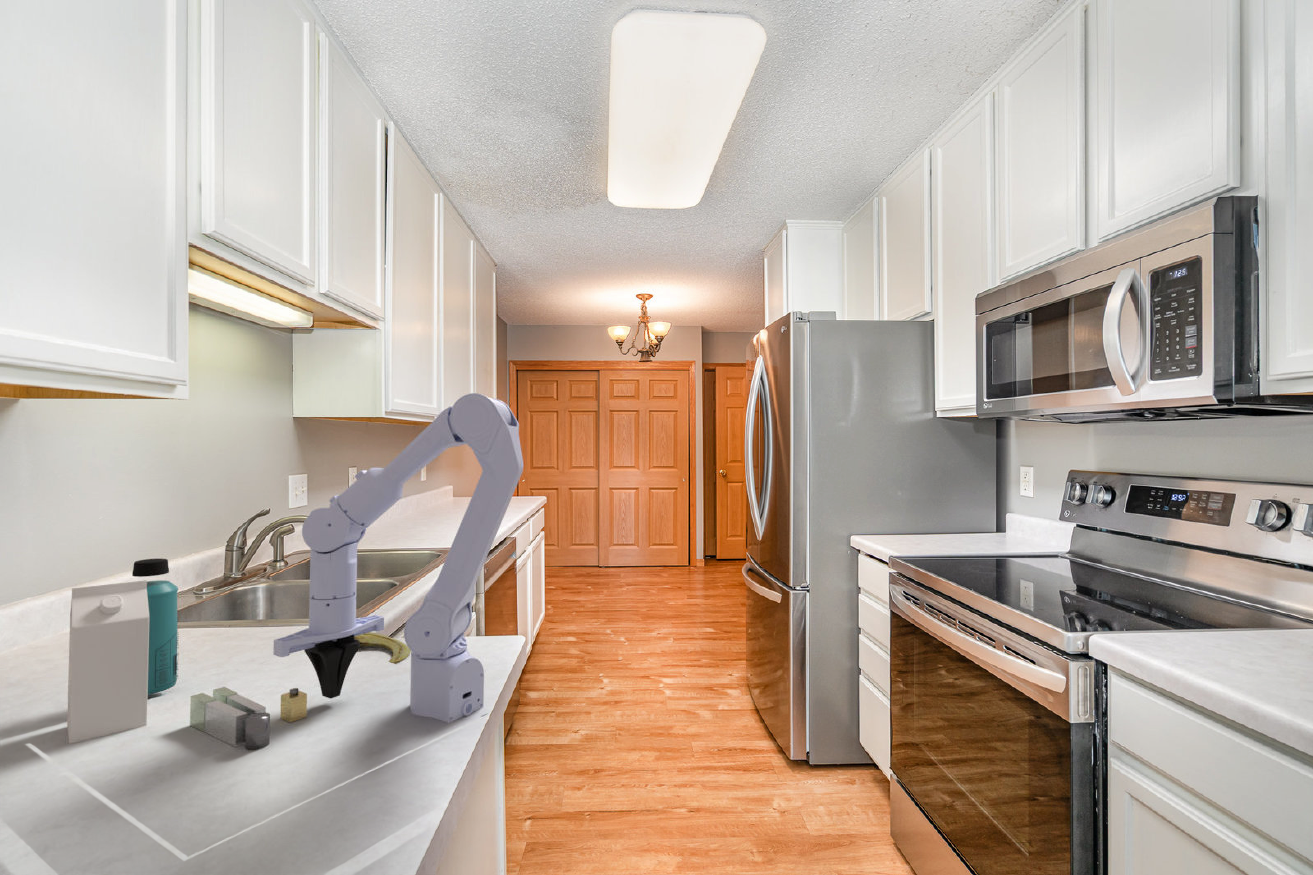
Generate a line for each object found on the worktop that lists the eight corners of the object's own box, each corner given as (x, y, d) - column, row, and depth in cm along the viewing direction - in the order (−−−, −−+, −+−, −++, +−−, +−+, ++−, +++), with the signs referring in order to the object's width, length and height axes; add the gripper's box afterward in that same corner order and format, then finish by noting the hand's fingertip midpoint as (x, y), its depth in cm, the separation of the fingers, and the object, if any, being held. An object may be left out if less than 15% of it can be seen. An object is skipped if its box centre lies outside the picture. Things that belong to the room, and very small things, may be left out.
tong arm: (265, 736, 76) (266, 706, 76) (253, 740, 75) (254, 709, 75) (223, 714, 82) (224, 686, 82) (212, 718, 81) (212, 689, 81)
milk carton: (66, 736, 79) (70, 583, 79) (140, 719, 84) (143, 576, 84) (68, 756, 74) (73, 593, 74) (146, 737, 79) (150, 584, 79)
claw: (308, 652, 113) (308, 633, 113) (355, 637, 122) (356, 619, 122) (390, 671, 105) (391, 650, 105) (434, 653, 114) (435, 635, 114)
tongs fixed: (273, 746, 74) (274, 712, 74) (247, 756, 72) (248, 721, 72) (215, 719, 81) (216, 688, 81) (190, 727, 79) (190, 696, 79)
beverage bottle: (182, 697, 91) (185, 559, 91) (122, 711, 86) (126, 565, 86) (172, 686, 95) (175, 553, 96) (114, 699, 90) (118, 559, 91)
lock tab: (306, 717, 81) (306, 688, 81) (290, 722, 80) (291, 694, 80) (296, 712, 83) (296, 685, 83) (280, 718, 81) (280, 690, 81)
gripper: (363, 582, 94) (361, 673, 94) (261, 601, 82) (259, 707, 81) (394, 588, 90) (392, 683, 90) (292, 609, 78) (289, 720, 78)
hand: (331, 695), depth 85 cm, fingers closed
